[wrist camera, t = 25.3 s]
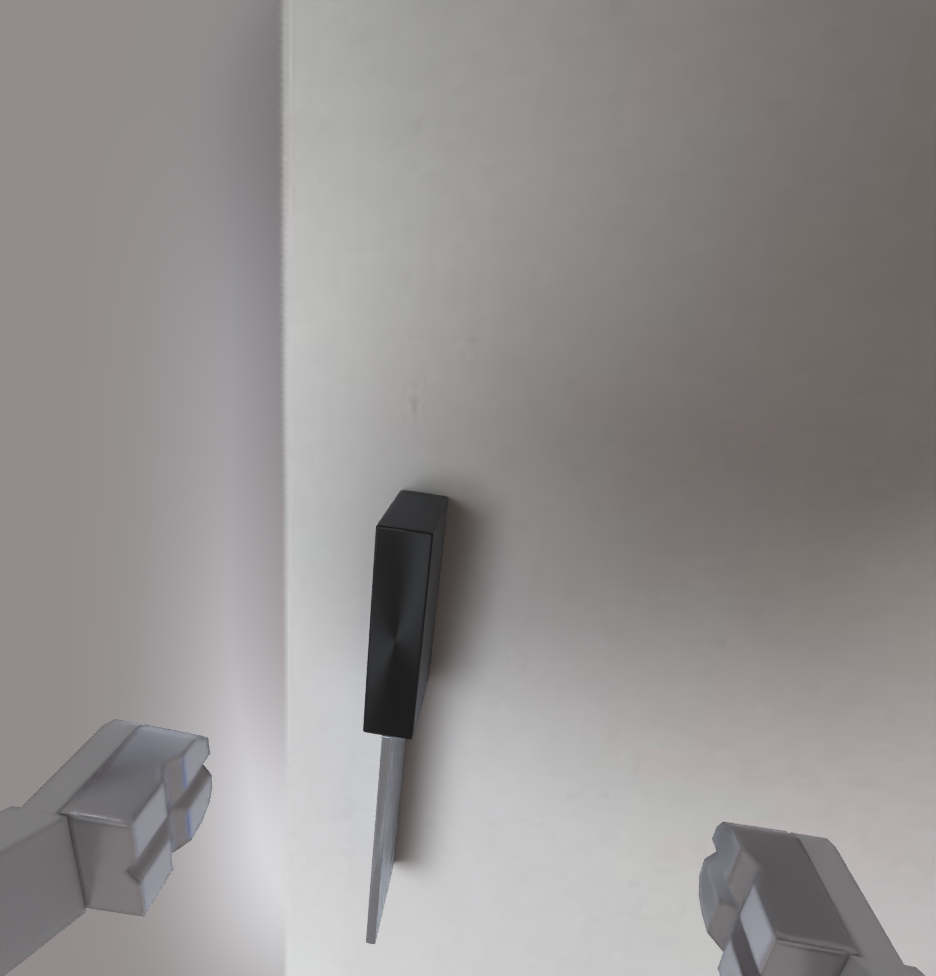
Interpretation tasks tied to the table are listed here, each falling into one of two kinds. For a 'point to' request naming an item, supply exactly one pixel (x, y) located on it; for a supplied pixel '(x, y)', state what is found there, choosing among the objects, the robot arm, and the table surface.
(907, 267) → the table surface
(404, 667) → the knife
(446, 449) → the table surface
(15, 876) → the robot arm
